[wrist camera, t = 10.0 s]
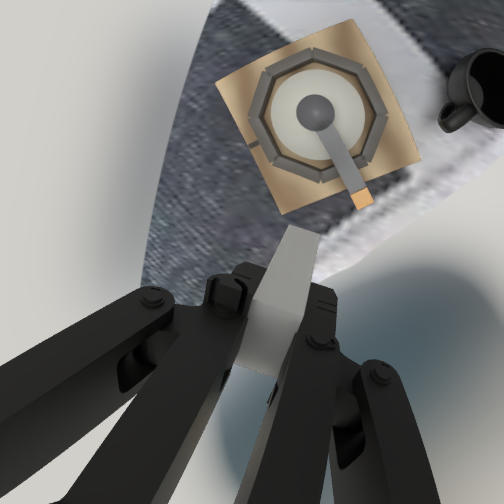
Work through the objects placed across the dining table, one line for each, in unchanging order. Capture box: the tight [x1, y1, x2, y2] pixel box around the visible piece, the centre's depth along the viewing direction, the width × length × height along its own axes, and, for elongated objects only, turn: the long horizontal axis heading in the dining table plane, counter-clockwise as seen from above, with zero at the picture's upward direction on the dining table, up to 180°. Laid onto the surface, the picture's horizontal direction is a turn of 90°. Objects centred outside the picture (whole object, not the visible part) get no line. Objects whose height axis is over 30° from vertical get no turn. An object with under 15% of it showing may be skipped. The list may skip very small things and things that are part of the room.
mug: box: [438, 48, 504, 133], centre depth 24 cm, size 8×12×10 cm
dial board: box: [215, 19, 421, 215], centre depth 32 cm, size 18×18×4 cm
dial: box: [271, 69, 374, 210], centre depth 30 cm, size 15×10×6 cm, turn 32°
